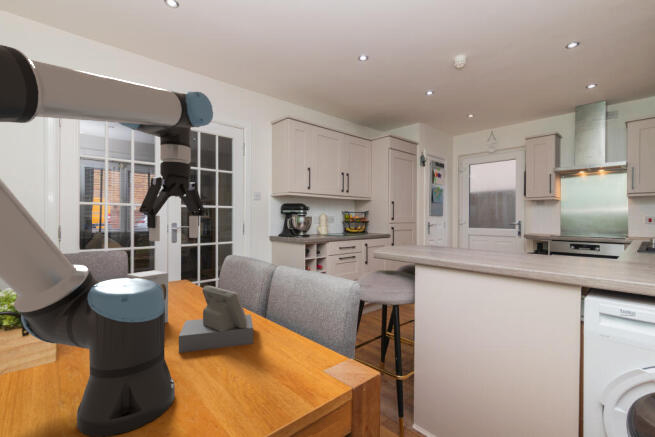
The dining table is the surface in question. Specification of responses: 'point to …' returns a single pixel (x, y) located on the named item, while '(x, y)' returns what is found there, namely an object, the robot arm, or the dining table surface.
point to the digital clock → (223, 309)
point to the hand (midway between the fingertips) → (175, 239)
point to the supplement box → (158, 278)
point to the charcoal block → (212, 336)
